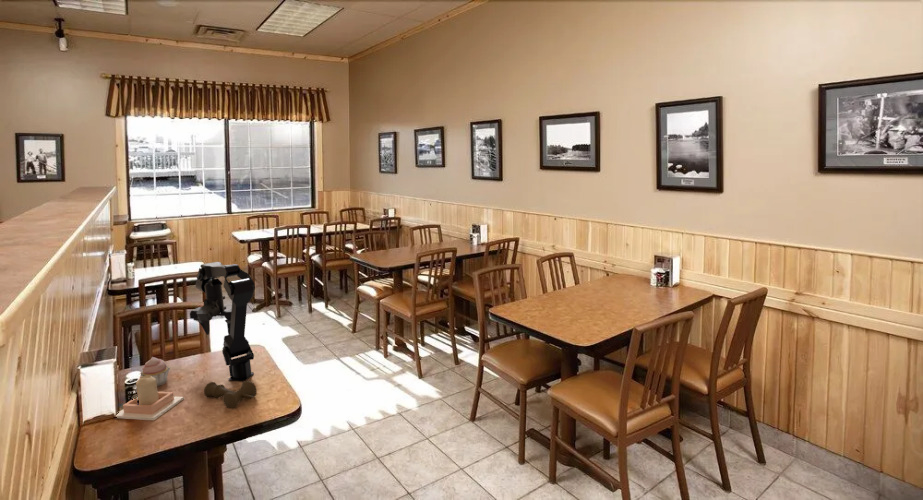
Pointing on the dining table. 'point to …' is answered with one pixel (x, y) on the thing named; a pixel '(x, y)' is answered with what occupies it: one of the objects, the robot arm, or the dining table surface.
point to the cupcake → (156, 370)
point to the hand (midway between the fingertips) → (218, 334)
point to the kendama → (230, 393)
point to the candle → (147, 390)
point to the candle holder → (149, 407)
